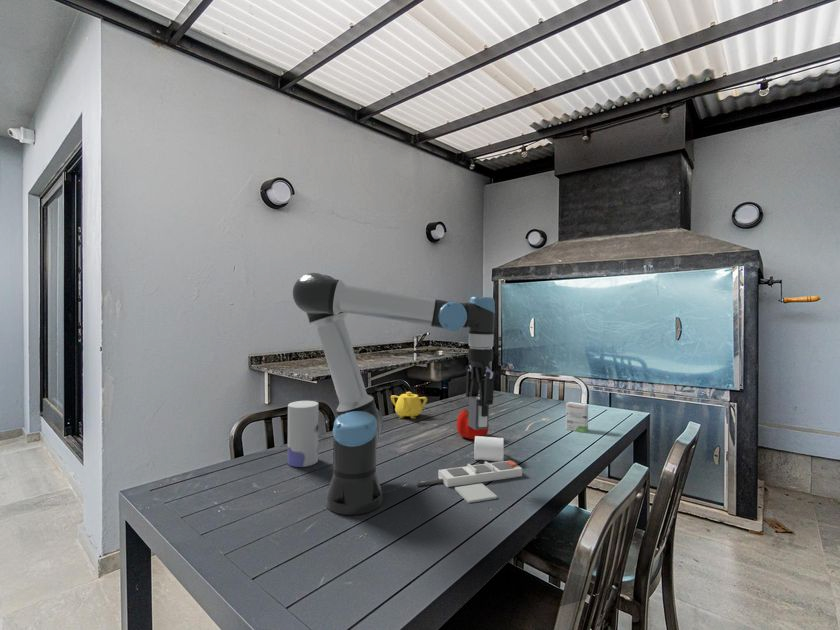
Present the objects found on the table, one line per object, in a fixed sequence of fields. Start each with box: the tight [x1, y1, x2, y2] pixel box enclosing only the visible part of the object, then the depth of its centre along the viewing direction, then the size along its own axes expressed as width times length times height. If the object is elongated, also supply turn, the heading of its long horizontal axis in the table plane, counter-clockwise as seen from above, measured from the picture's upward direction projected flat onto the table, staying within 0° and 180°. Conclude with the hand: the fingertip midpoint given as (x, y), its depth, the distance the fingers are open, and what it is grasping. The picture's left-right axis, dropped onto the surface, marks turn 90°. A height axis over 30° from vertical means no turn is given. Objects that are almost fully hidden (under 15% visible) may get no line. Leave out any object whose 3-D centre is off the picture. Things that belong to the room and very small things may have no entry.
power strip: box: [416, 460, 523, 488], centre depth 131 cm, size 34×7×4 cm, turn 110°
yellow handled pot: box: [390, 391, 428, 420], centre depth 202 cm, size 14×14×12 cm
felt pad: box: [454, 482, 498, 504], centre depth 120 cm, size 9×9×1 cm
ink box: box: [565, 401, 589, 433], centre depth 184 cm, size 9×5×12 cm, turn 56°
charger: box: [468, 395, 490, 430], centre depth 127 cm, size 4×4×9 cm
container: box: [287, 400, 319, 468], centre depth 142 cm, size 10×10×20 cm
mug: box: [473, 436, 505, 462], centre depth 149 cm, size 12×10×8 cm
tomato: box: [456, 409, 490, 441], centre depth 172 cm, size 14×13×10 cm
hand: (478, 424), depth 127 cm, fingers closed on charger, 4 cm apart
